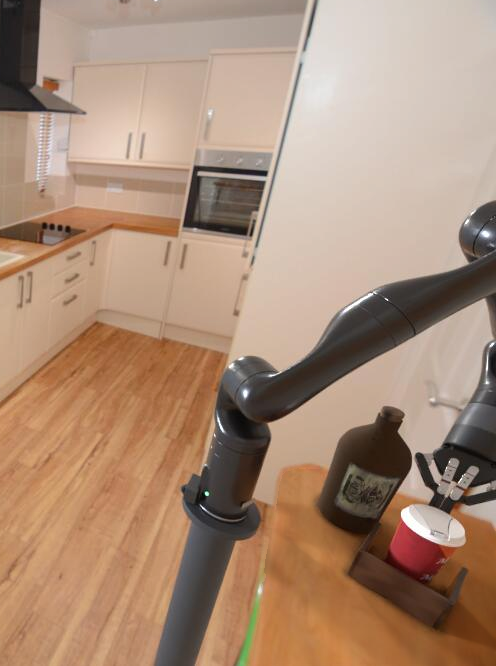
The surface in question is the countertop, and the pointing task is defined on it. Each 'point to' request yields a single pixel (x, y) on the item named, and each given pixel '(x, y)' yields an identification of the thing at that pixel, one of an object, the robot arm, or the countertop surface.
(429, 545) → the paper cup
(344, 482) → the brown bottle
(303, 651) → the countertop surface
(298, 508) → the countertop surface
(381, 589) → the holder
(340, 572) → the countertop surface
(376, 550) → the countertop surface
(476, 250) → the robot arm
